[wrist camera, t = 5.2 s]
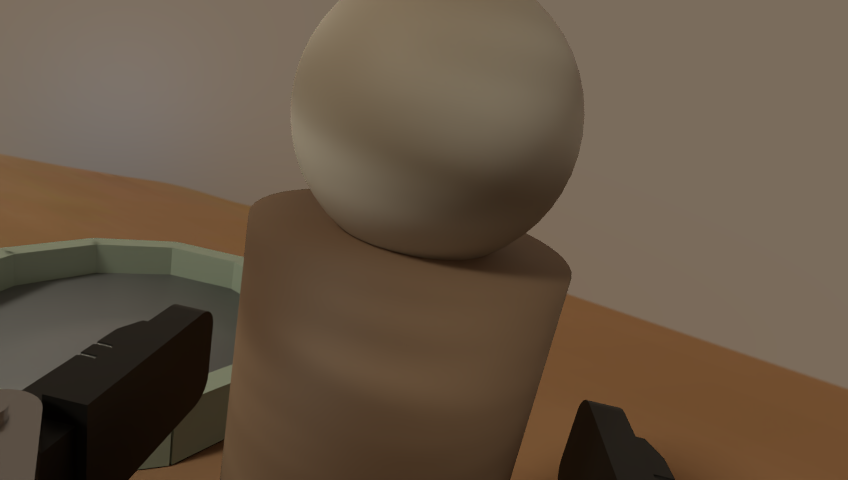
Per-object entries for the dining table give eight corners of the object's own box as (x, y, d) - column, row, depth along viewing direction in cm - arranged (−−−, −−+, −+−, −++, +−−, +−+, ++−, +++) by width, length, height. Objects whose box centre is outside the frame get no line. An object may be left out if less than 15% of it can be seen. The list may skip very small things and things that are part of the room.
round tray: (334, 317, 31) (340, 279, 31) (197, 529, 16) (203, 463, 15) (84, 259, 32) (85, 220, 31) (-279, 409, 17) (-295, 340, 16)
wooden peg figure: (433, 636, 14) (604, 28, 10) (409, 925, 9) (736, -43, 5) (252, 590, 14) (338, -26, 10) (134, 849, 10) (200, -148, 5)
